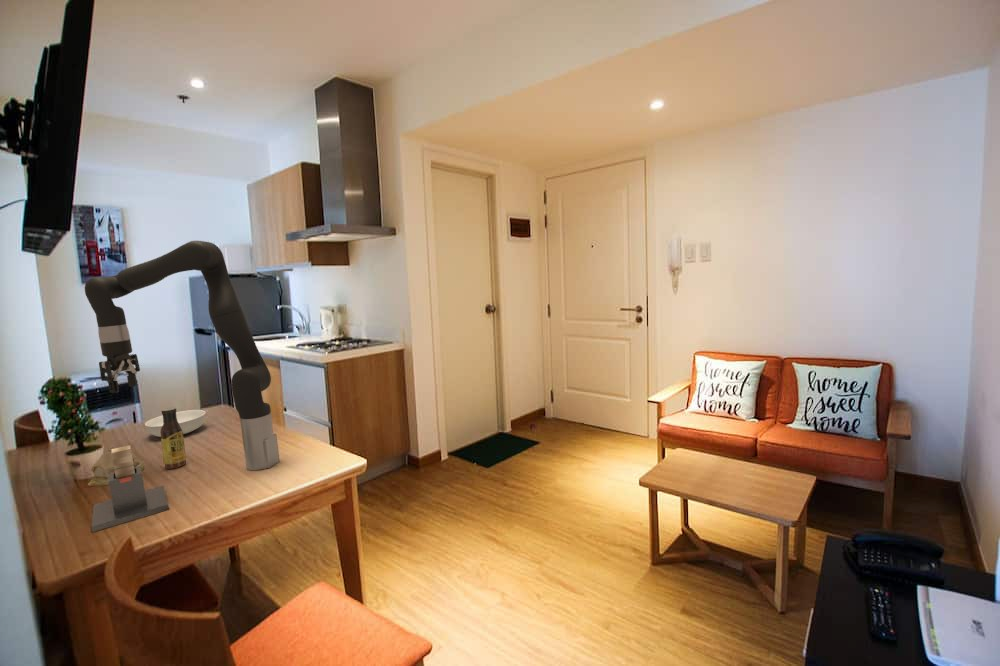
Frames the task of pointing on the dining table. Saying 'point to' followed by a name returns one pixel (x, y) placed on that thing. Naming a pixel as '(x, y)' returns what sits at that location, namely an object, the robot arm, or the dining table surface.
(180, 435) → the sauce bottle
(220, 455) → the dining table surface
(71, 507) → the dining table surface
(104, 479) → the ceramic model
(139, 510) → the graphite stand
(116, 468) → the ash post
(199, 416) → the serving bowl
